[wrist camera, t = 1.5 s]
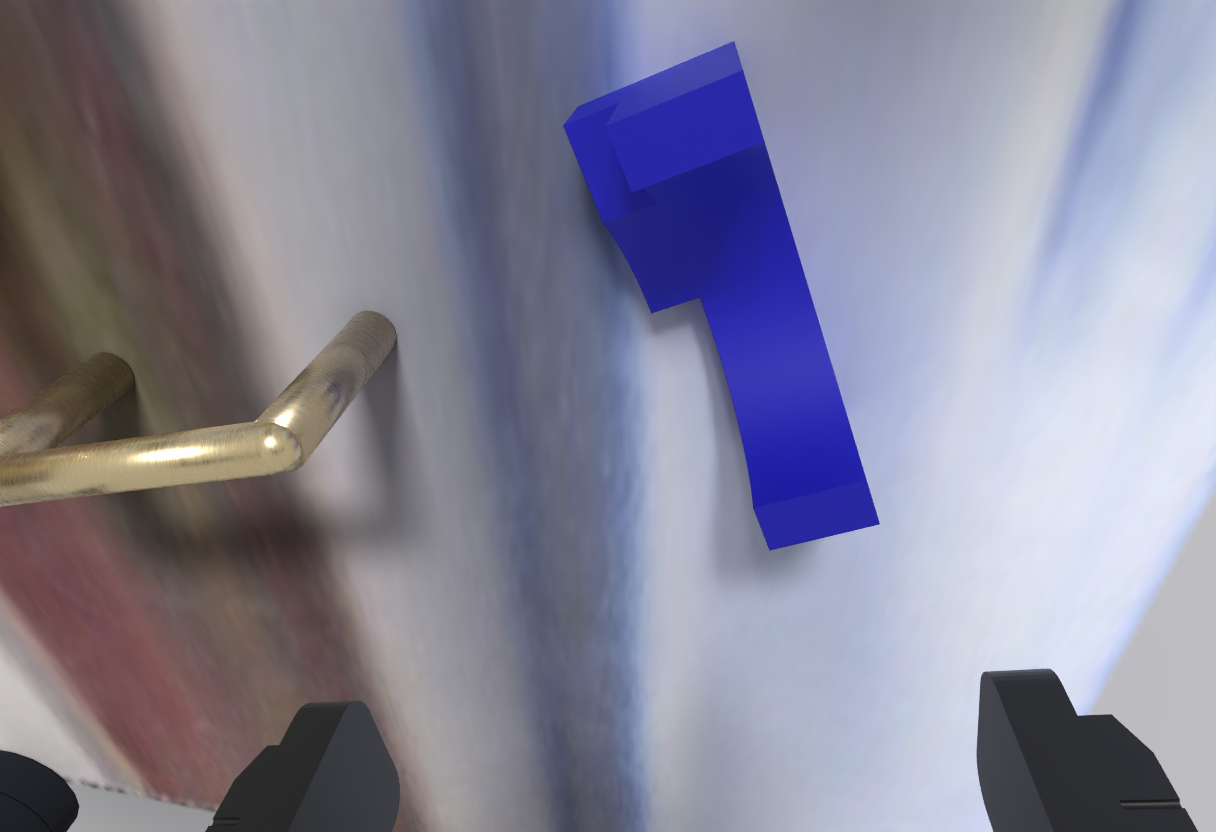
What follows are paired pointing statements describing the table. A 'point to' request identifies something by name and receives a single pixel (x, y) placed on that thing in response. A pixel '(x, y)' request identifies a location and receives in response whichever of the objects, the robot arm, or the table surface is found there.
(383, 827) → the robot arm
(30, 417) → the wire track
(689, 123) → the cable clip
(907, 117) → the table surface
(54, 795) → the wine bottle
